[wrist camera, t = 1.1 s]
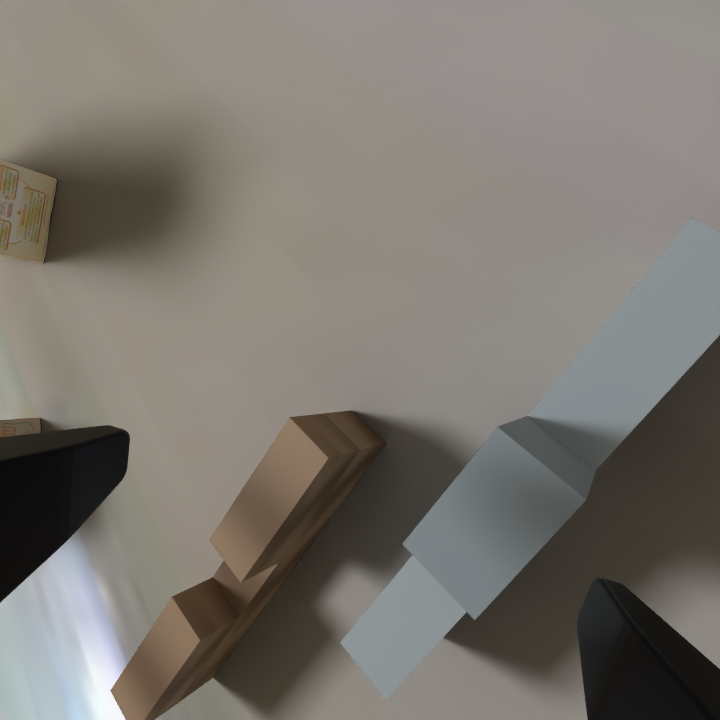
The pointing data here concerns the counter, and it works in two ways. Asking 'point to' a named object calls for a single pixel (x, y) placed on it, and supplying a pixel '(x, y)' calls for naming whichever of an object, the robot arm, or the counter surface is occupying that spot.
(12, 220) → the coffeecake box
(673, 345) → the pale blue collared bar
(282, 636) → the counter surface
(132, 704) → the walnut slotted plate
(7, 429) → the stack of blocks
